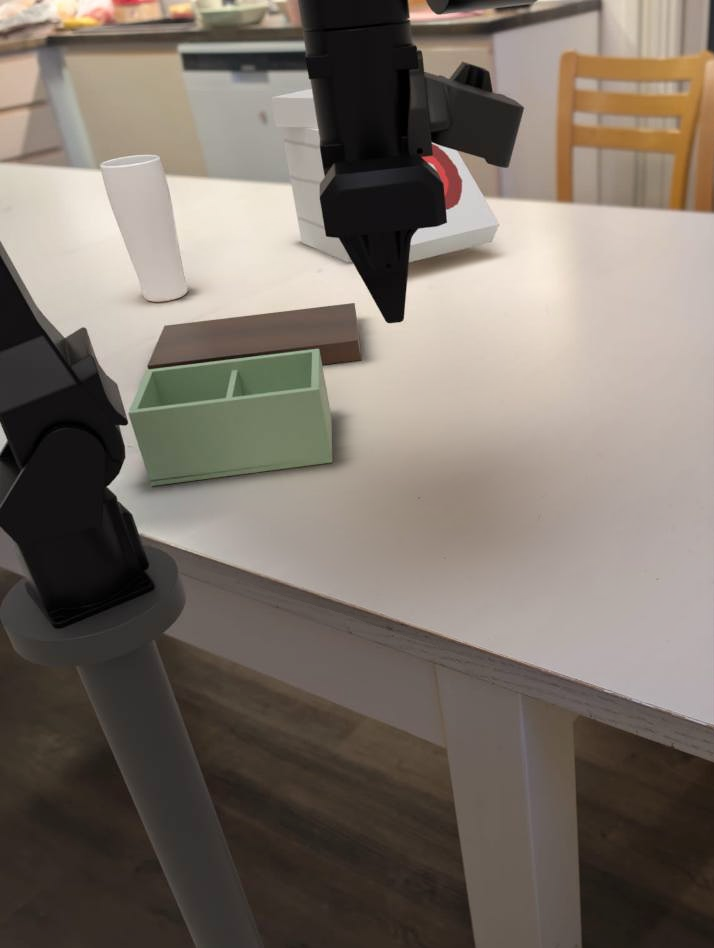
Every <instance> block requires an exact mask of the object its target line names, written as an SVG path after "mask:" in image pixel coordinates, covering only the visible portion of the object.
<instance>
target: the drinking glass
mask: <svg viewBox="0 0 714 948" xmlns="http://www.w3.org/2000/svg"><path fill="white" fill-rule="evenodd" d="M99 168H100V172H101V176H102V177H101V178H102V181H103V185H104V188H105V192H106V195H107V198H108V201H109V204H110V205H109V206H110V207H111V210H112V213H113V216H114V218H115V220H116V223H117V226H118V229H119V232H120V234H121V237H122V239H123V242H124V244H125V245H124V246H125V247H126V250H127V253H128V256H129V258H130V261H131V264H132V266H133V269H134V272H135V275H136V277H137V280H138V283H139V287H140V290H141V293H142V296H143V298H144V299H145V300H147V301H149V302H155V303H163V302H169V301H173V300H177V299H180V298H182V297H184V296H185V295H186V294H187V292H188V289H189V287H188V283H187V280H186V276H185V270H184V265H183V260H182V255H181V249H180V248H181V247H180V244H179V243H180V242H179V238H178V231H177V225H176V220H175V214H174V208H173V201H172V197H171V193H170V188H169V184H168V179H167V177H166V173H165V170H164V166H163V163H162V159H161V157H160V156H159V155H157V154H137V155H136V154H135V155H128V156H122V157H115V158H113V159H109V160H106V161H105V160H104V161H103V162H101V163H100V164H99Z"/></svg>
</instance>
